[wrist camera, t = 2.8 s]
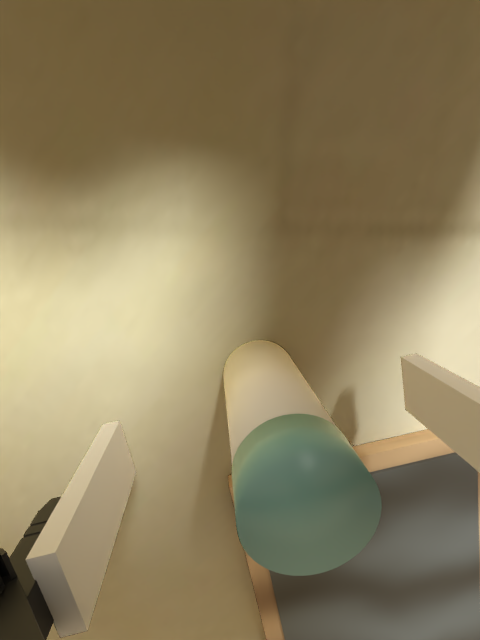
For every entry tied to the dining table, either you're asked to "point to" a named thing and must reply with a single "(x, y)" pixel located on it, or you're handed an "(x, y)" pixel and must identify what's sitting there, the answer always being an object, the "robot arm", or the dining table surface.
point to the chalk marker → (292, 468)
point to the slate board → (393, 557)
